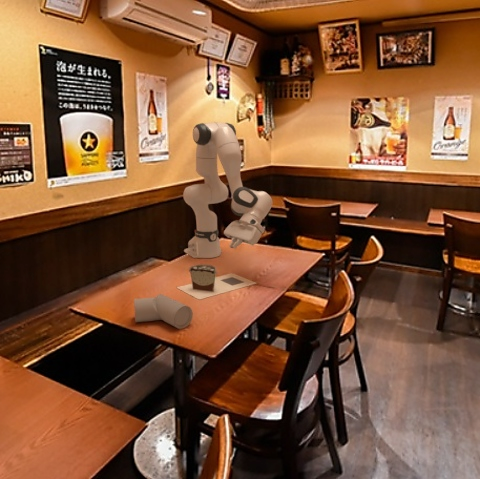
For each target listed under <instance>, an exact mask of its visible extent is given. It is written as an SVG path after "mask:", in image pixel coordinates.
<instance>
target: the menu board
mask: <svg viewBox="0 0 480 479" xmlns="http://www.w3.org/2000/svg"><path fill="white" fill-rule="evenodd" d="M253 285H257V282H255V281H252V280H250V279H248V278H245V277H243V276H240V275H238V274H235V273H232V272H231V273H228V274H224V275H220V276H217V277H216V276H215V282H214V291H213V292H210V291H201V290H193V287H192V283H189V284H185V285H181V286H178V287H177V286H176V289H177V290H180V291H181V292H184V293H185V294H187V295H189V296H191V297H193V298H195V299H197V300H199V301H200V300H204V299H206V298H211V297H214V296H218V295H221V294H225V293H228V292H231V291H236V290H240V289H242V288H246V287H249V286H250V287H251V286H253Z"/></svg>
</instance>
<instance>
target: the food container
mask: <svg viewBox="0 0 480 479" xmlns="http://www.w3.org/2000/svg"><path fill="white" fill-rule="evenodd" d="M188 272H190V277H191V284H192V287H193V290H201V291H210V292H213V291H214V282H215V278H216V275H217V273H218V272H217V268H216V266H214V265H211V264H194V265H192V266H190V267H189V270H188Z"/></svg>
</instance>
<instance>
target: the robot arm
mask: <svg viewBox="0 0 480 479" xmlns="http://www.w3.org/2000/svg"><path fill="white" fill-rule="evenodd" d="M192 138H193V141H194V142H195V144H196V151H195V171H196V174H198V175H199V176H200V177H202V178H203V179H204V183H197V184H192V185H188V186H186V187H185V188H184V191H183V193H182V194H183V200H184V202H185V203H186V204H187V205H188V206H190V207H191V208H192V210H193V212H194V215H195V221H196V229H195V230H194V236H193V237H192V238H190V239H189V241H188V243H187V247H188V248H184V250H183V252H184V253H185V254H187V255H188V256H190V257H192V258H193V259H198V258H200V259H212V258H217V257H219V256H221V255H222V252H223V251H222V249H221V243H220V238H219V237H218V236H219V229H218V216H217V214H216V213H215V212H214V211H212V210H211V209H210V208H209V205H210V204H211V205H212V204H219V203H222V202H224V201H226V200H227V199H228V198H229V192H230V196H231V202H230V209H231V211H232V213H233V215H235V216H238V217H240V219H235V220H233V221H231V223H230V224H228V226H227V227H225V228H224V229H225V230H224V231H223V235H224V236H225V237H227V238H229V239H231V240H230V244H228V245H229V247H230V248H231V249H234V250H235V249H237V247H238V246H240V245H242V244H243V243H245V244H247V245H251V246H255V245H256V244H257V243H258V242H259V241H260V238H261V237H262V234H263V233H264V232H265V230H266V229H265V228H264V227H263V225H261V223H262V222H263V219H264V218H266V216H267V215H268V213H269V212H270V210H271V208H272V207H273V198H272V197H271V195H270V194H269V193H267V192H266V191H263V190H259V191H257V190H254V189H251V188H248V187H246V186H243V182H242V179H241V166H242V151H241V146H240V143H239V140H238V138H237V130H236V128H235V126H234V124H232V123H228V122H218V121H217V122H216V121H214V122H207V123H203V122H201V123H197V124H196V125H195V126H194V127H193V130H192ZM218 159H219V162H220V164H221V167H222V168H223V171H224V174H225V176H226V179H227V182H228V186H227V185H226V184H225V183H223V181H221V179H220V176H219V172H218V170H219V169H218ZM228 187H229V189H228ZM229 190H230V191H229Z"/></svg>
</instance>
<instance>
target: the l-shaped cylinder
mask: <svg viewBox="0 0 480 479" xmlns="http://www.w3.org/2000/svg"><path fill="white" fill-rule="evenodd" d="M133 304H134V320H135V323H144V322H153V321H164V322H165V323H166V324H168V325H171V326H173V327H175V328H177V329H178V330H181V329H184V328H187V327H188V326H189V325H191V323H192V320H193V317H194V312H193V309H192V308H191V307H190V306H189V305H186V304H184V303H182V302H180V301H177V300H176V299H173V298H171V297H169V296H167V295H164V294H161V293H159V294H158V295H157V296H155V297H154V296H153V297H152V296H151V297H144V298H143V297H141V298H134V299H133Z"/></svg>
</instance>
